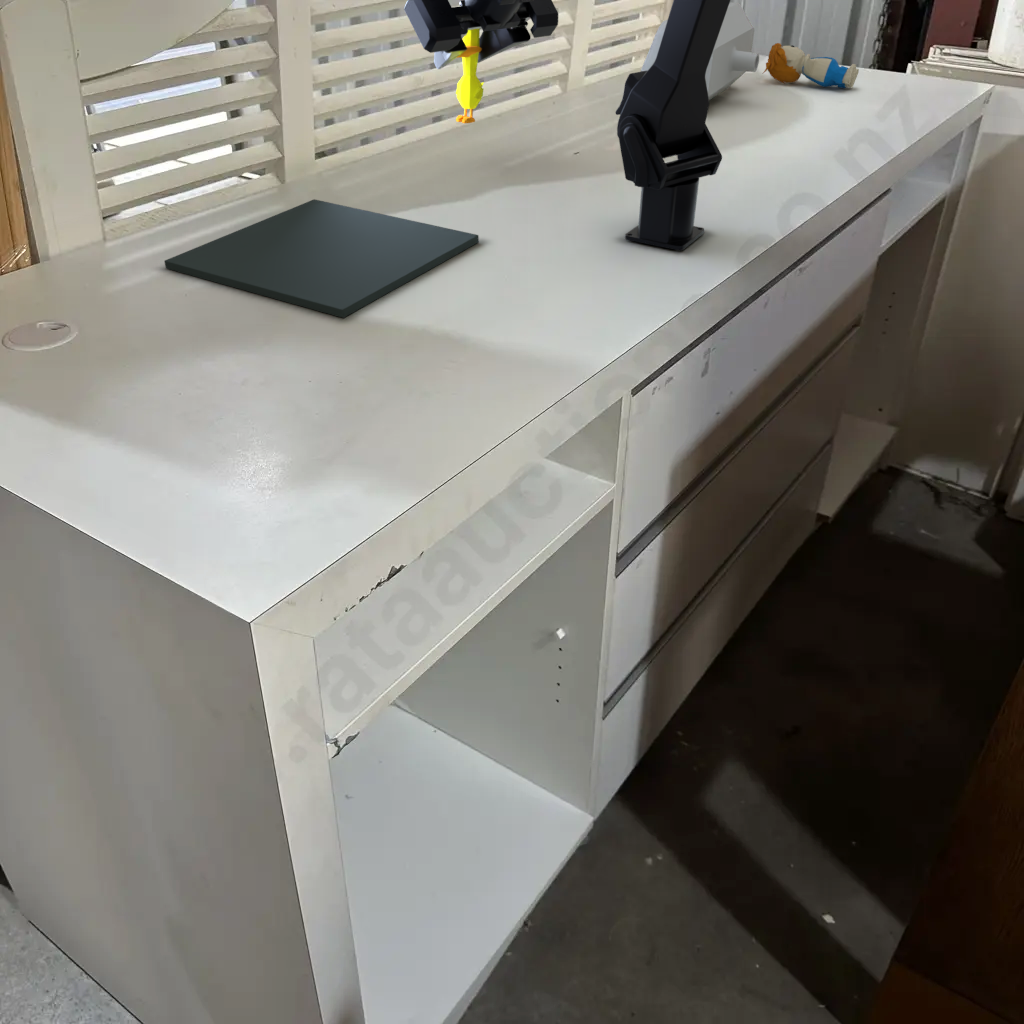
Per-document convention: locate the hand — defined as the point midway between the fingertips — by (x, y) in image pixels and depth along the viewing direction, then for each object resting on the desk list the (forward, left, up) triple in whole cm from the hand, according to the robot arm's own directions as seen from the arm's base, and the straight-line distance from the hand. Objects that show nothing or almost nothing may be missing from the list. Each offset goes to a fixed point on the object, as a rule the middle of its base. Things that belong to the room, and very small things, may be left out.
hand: (455, 62), depth 116 cm
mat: (-35, -7, -11) cm, 38 cm away
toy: (+68, -25, -12) cm, 73 cm away
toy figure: (-1, -1, -7) cm, 7 cm away
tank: (+48, -14, -12) cm, 51 cm away
